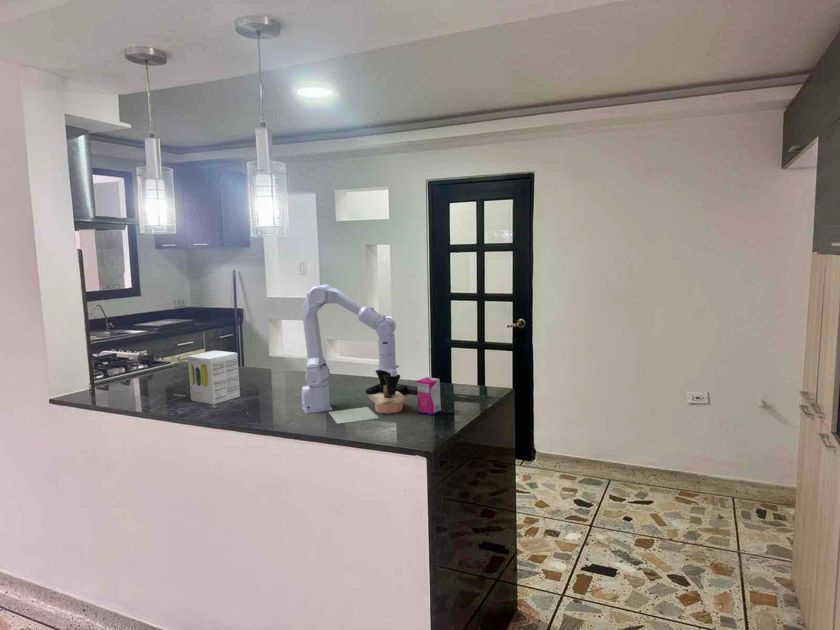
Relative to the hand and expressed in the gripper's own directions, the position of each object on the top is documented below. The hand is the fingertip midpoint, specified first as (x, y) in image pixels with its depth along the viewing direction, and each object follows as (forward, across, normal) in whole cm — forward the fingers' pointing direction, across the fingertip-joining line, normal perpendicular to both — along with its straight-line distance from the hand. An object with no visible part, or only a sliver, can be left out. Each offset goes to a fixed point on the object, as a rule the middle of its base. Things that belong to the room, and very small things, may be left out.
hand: (388, 392), depth 193 cm
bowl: (+6, 0, 0) cm, 6 cm away
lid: (+2, 0, 0) cm, 2 cm away
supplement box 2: (+7, -8, -12) cm, 16 cm away
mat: (+6, -1, +13) cm, 15 cm away
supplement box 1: (+7, +44, +56) cm, 72 cm away
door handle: (+7, +20, -7) cm, 23 cm away
